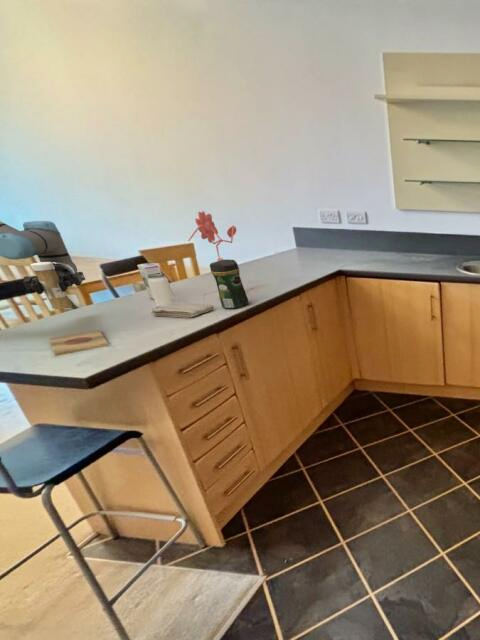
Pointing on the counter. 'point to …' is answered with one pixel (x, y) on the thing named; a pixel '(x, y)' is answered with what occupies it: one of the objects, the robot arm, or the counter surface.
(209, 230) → the red flower
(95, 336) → the mat
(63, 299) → the sprinkles bottle
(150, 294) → the syrup box
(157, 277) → the can
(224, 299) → the coffee jar
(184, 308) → the washcloth
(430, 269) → the counter surface
